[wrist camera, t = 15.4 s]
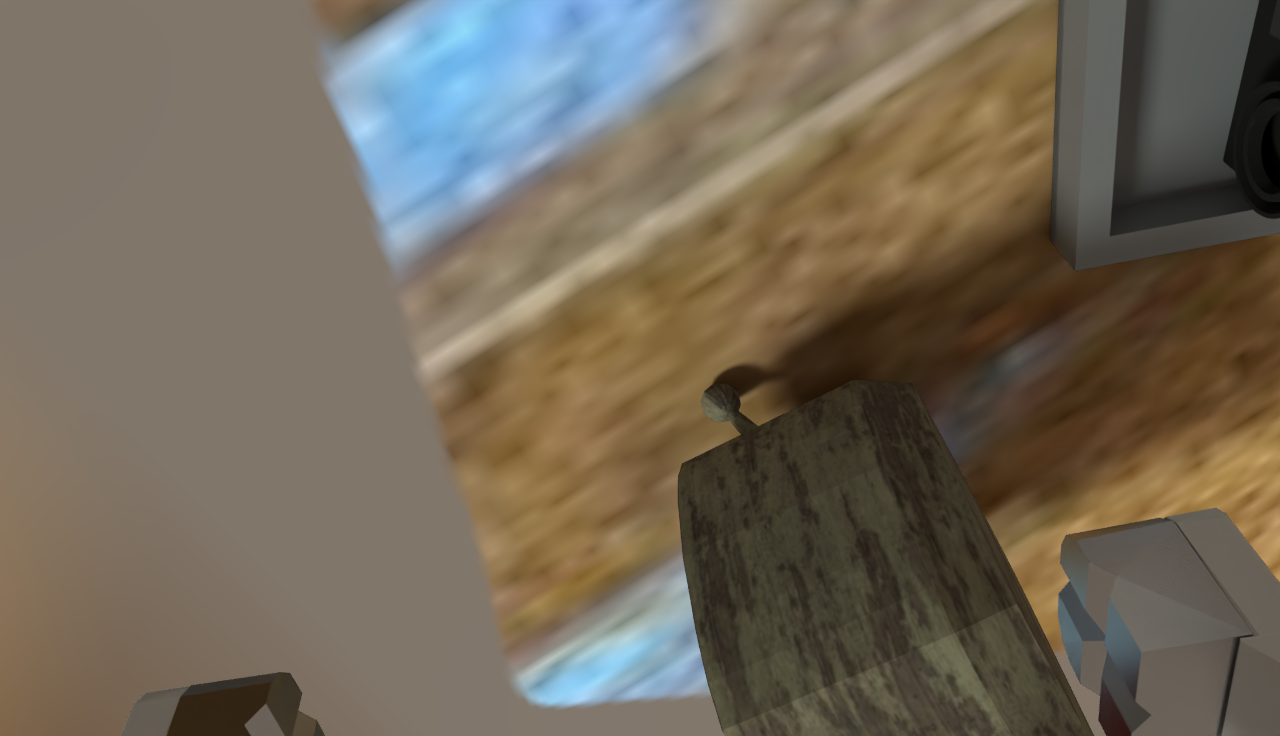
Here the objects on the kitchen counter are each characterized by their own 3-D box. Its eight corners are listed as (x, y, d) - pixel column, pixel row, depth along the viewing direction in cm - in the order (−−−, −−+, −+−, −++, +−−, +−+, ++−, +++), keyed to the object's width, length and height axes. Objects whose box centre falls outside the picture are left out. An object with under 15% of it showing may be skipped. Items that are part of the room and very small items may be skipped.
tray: (1066, -195, 34) (1099, -184, 32) (1506, -285, 33) (1569, -280, 31) (1049, 240, 42) (1075, 271, 40) (1399, 174, 42) (1443, 202, 40)
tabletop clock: (658, 376, 45) (744, 1009, 24) (858, 274, 43) (1139, 871, 22) (807, 587, 52) (970, 1210, 32) (984, 508, 50) (1284, 1122, 29)
